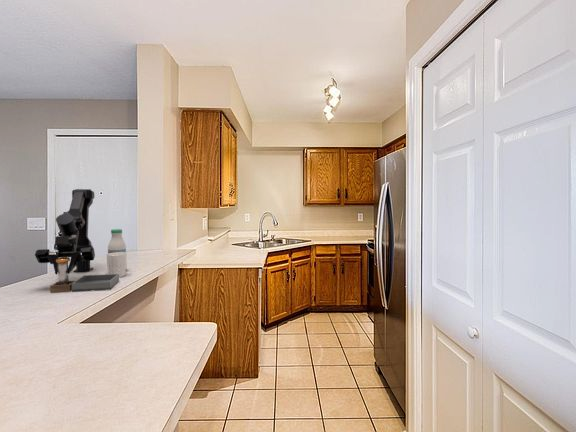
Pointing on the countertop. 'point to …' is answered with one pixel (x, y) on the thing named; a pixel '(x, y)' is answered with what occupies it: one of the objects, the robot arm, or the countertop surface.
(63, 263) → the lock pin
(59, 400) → the countertop surface
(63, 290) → the socket block
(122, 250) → the milk bottle
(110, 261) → the white cup
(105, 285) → the tray
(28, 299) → the countertop surface
